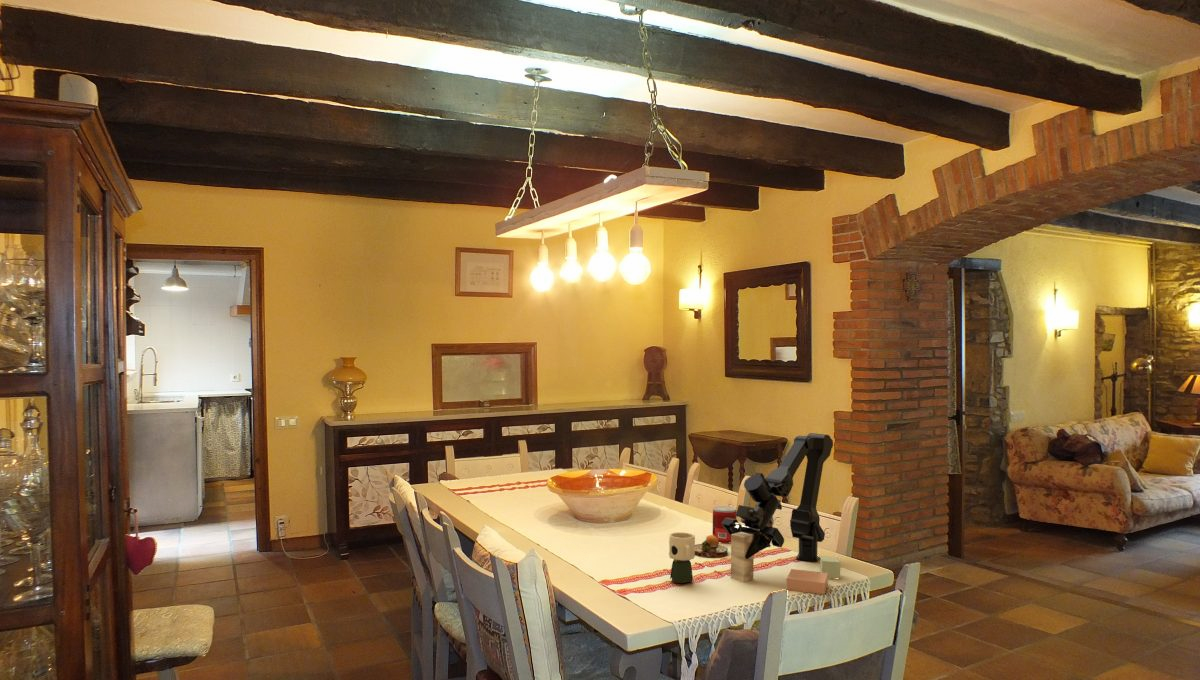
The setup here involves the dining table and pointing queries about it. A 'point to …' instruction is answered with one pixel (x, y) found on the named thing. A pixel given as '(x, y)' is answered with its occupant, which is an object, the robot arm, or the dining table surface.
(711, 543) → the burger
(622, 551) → the dining table surface
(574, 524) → the dining table surface
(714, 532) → the canned food
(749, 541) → the beech post
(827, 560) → the sage block
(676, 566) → the character mug
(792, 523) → the robot arm
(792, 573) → the terracotta tile
